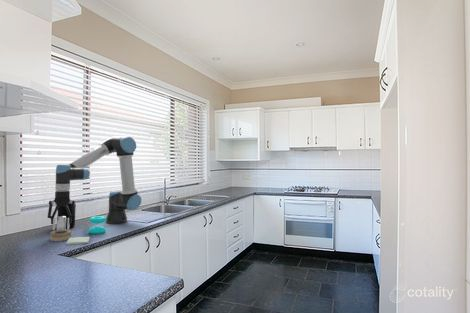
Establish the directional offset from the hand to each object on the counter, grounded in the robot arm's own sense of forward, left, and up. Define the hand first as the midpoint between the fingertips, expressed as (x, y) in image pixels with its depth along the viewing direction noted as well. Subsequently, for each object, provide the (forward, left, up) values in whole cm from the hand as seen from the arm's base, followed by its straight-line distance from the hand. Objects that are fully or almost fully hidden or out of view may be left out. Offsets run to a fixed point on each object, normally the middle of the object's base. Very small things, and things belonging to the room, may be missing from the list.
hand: (61, 229), depth 180 cm
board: (-11, +8, -6) cm, 15 cm away
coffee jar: (+2, -30, -6) cm, 31 cm away
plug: (0, 0, -6) cm, 6 cm away
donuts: (-19, -11, -6) cm, 23 cm away
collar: (0, 0, -6) cm, 6 cm away
